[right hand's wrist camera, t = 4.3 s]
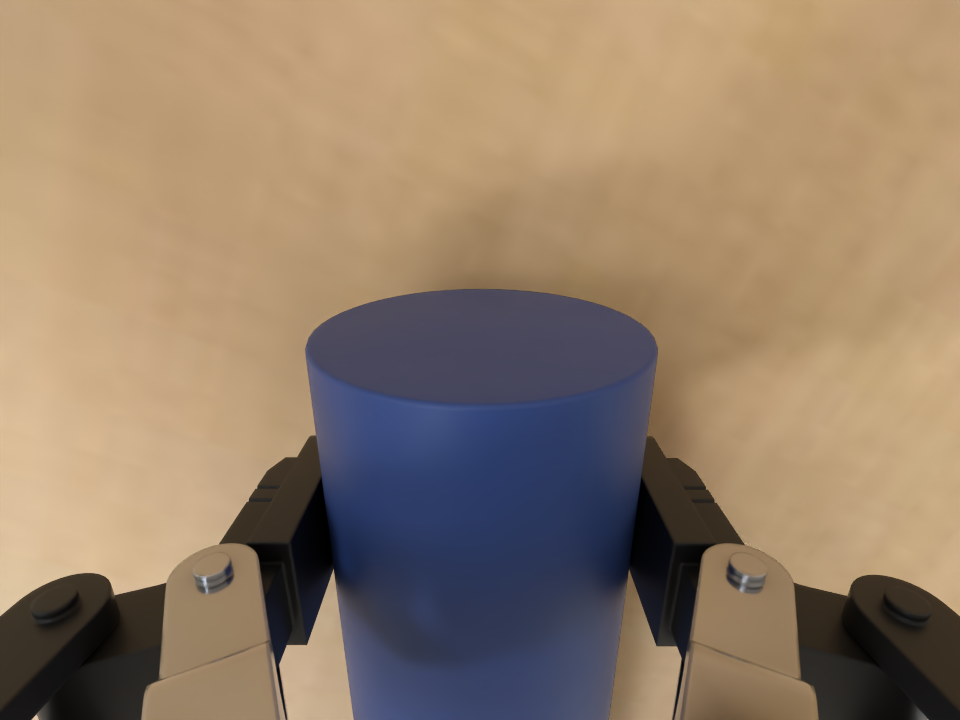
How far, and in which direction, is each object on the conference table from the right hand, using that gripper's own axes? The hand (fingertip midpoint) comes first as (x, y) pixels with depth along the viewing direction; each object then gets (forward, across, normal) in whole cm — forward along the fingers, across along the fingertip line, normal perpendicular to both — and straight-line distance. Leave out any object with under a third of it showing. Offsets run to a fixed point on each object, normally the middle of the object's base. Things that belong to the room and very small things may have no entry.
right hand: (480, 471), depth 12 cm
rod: (+2, 0, +10) cm, 10 cm away
